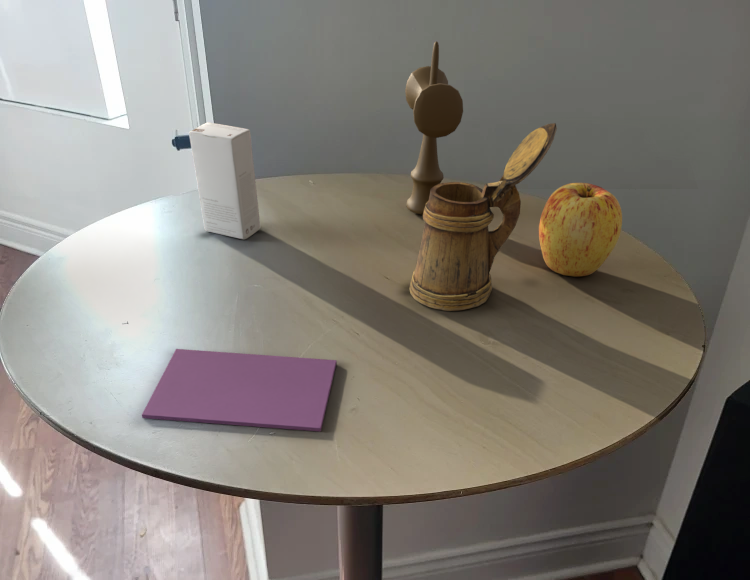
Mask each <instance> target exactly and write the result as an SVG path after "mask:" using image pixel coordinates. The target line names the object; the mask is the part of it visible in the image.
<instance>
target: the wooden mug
mask: <svg viewBox="0 0 750 580" xmlns="http://www.w3.org/2000/svg"><path fill="white" fill-rule="evenodd" d="M557 129H558V128H557V123H556V122H552V123H547V124H544V125H542V126H540V127H538V128H536V129H534V130H533V131H531V132H529V134H528V135H526V136H525V138H523V139H522V141H520V143H519V144H518V146H517V147H516V148H515V149H514V151H513V153H511V156H510V157H509V159H508V160H507V163H506V165H505V167H504V170H503V174H502V176H501V178H499V180H498V181H495V182H488V183H485V184H484V185H483V188H481V187H479V186H478V185H475V184H472V183H468V182H461V181H450V182H449V181H447V182H441V183H440V184H438V185H436V186H434V187H433V188H432V189H431V191H430V196H429V201H428V202H427V203H426V206H425V209H424V213H423V215H422V219H423V222H424V225H423V231H422V236H421V240H420V246H419V251H418V255H417V260H416V265H415V269H414V270H413V272H412V276H411V280H410V284H409V292H410V295H411V296H412V298H413V299H414V300H415V301H416V302H418V303H420V304H422V305H423V306H426V307H429V308H432V309H435V310H438V311H447V312H451V311H454V312H456V311H464V310H469V309H473V308H477V307H479V306H481V305H482V304H484V303H486V302H487V300H488V299H489V298H490V296H491V292H492V289H493V282H492V276H491V274H490V273H491V270H492V267H493V263H494V260H495V257H496V256H497V255H498V253H499V251H500V249H501V248H502V247H503V245H504V244H505V243H506V241H507V240H508V239H509V238H510V235H511V234H512V233H513V231H514V229H515V227H516V226H517V223H518V220H519V217H520V215H521V203H522V201H521V196H520V192H519V190H518V188H517V185H518V184H520V183H521V182H522V181H524V180H525V179H527V178H528V176H529V175H530V174H532V172H534V170H535V169H536V168H537V167H538V166H539V165H540V163H541V162H542V161H543V159H544V158H545V156H546V155H547V153H548V151H549V150H550V148H551V146H552V144H553V142H554V139H555V136H556V134H557V133H556V132H557ZM491 208H498V209H499V210H500V211H501V213H502V221H501V222H500V224H499V225H498V227H497V228H495V229H493V230H490V231H489V225H490V224H491V223H492V222H493V220H494V217H495V214H494V211H492V210H491Z"/></svg>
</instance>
